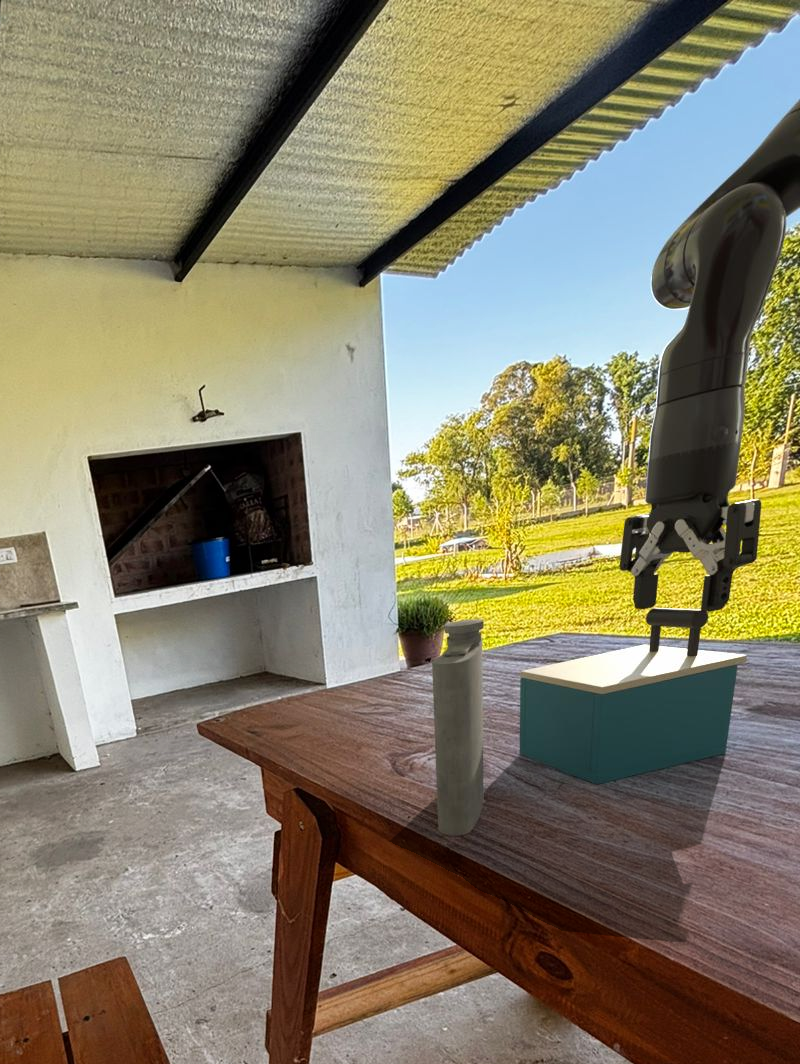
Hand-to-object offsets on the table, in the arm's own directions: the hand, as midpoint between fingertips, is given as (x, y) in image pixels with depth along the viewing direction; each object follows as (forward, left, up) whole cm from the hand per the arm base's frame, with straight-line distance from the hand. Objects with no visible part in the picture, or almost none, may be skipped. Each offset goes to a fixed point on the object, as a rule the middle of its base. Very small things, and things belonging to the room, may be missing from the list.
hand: (676, 609), depth 69 cm
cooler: (+6, 0, -16) cm, 17 cm away
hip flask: (+28, +4, -16) cm, 33 cm away
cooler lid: (+6, 0, -6) cm, 8 cm away
